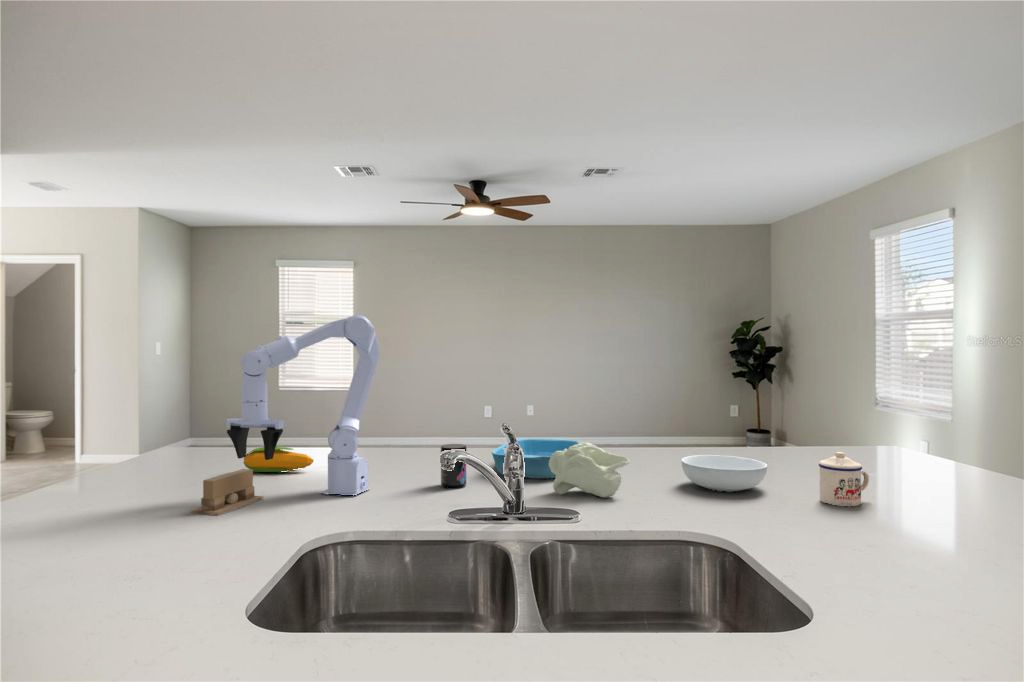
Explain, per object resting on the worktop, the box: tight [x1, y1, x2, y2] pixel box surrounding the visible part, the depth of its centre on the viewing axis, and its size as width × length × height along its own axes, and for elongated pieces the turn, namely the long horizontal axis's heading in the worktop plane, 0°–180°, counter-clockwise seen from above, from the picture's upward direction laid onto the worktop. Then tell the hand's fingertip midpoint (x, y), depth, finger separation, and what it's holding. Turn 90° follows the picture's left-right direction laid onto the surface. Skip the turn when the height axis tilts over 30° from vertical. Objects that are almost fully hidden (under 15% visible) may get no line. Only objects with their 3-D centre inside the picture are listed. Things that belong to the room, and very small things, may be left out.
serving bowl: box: [680, 454, 768, 493], centre depth 166 cm, size 21×21×7 cm
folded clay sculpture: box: [549, 441, 631, 499], centre depth 160 cm, size 18×13×16 cm
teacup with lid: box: [818, 451, 870, 508], centre depth 152 cm, size 12×9×12 cm
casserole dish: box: [491, 437, 581, 480], centre depth 190 cm, size 37×22×7 cm, turn 165°
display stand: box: [191, 485, 264, 516], centre depth 148 cm, size 7×15×3 cm, turn 163°
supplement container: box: [440, 443, 468, 490], centre depth 168 cm, size 7×7×10 cm
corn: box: [243, 446, 314, 473], centre depth 186 cm, size 7×8×20 cm
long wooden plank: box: [202, 468, 254, 499], centre depth 148 cm, size 3×13×4 cm, turn 163°
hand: (255, 458), depth 154 cm, fingers open, 7 cm apart
